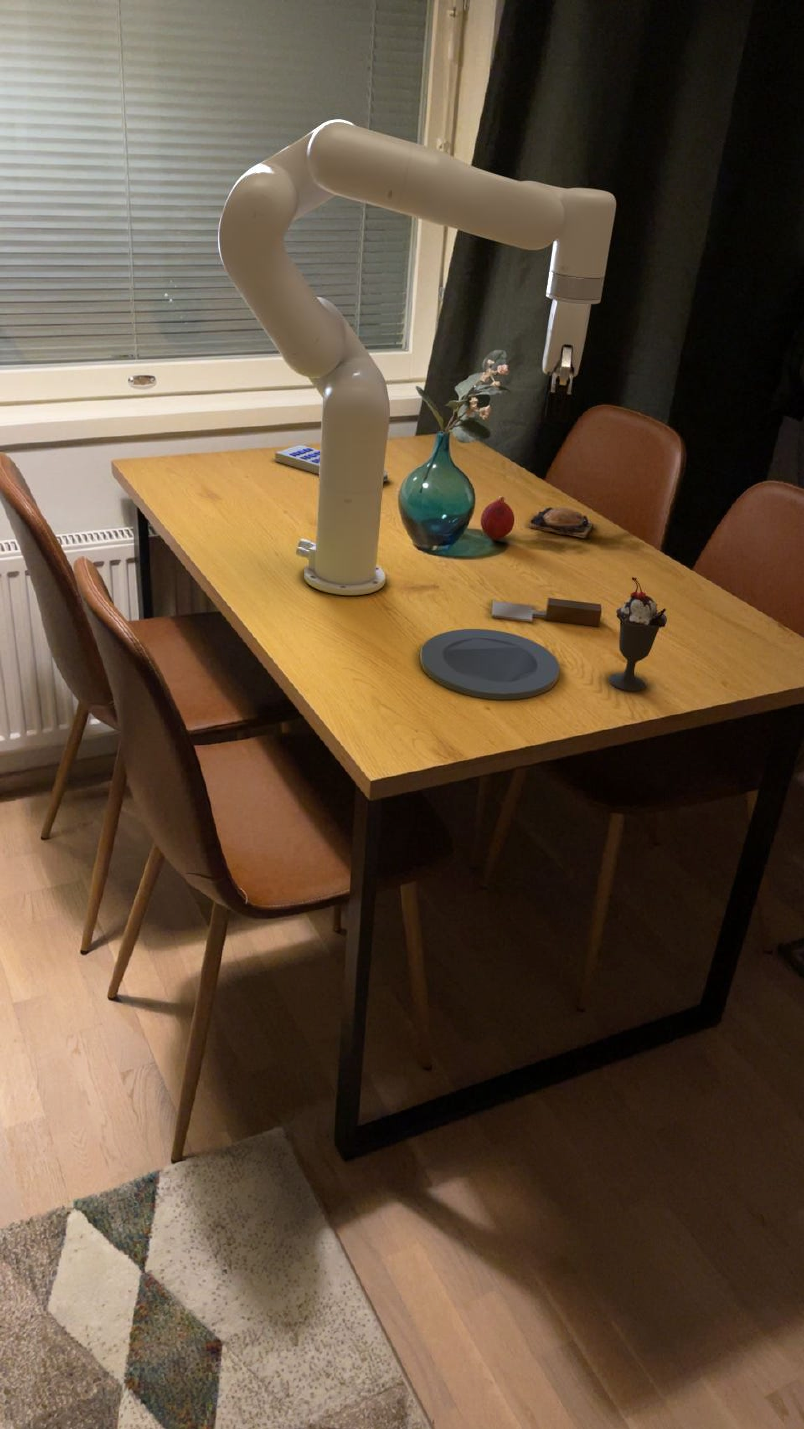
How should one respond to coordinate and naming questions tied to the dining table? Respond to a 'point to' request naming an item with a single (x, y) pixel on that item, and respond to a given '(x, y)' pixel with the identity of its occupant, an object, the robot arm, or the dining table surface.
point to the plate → (489, 664)
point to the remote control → (304, 459)
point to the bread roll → (562, 522)
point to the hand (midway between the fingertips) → (555, 412)
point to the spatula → (551, 612)
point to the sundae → (636, 636)
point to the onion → (497, 519)
